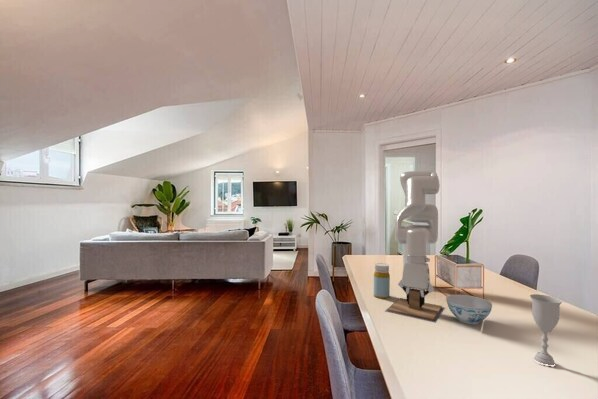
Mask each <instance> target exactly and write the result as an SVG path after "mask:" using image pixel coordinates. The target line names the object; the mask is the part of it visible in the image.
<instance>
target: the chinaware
mask: <svg viewBox="0 0 598 399" xmlns="http://www.w3.org/2000/svg"><path fill="white" fill-rule="evenodd" d="M445 299H446V300H445V301H446V303H447V307H448V309H449V311H450V313H452V315H454V316H455V318H457V319H458V321H459V322H461V323H464V324H468V325H478V324H479V323H481V322H482V321H484V320H485V319H487V317H488V316H489V315H490V313H491V311H492V308H493V303H492V302H491V301H489V300H487V299H484V298H482V297H479V296H474V295H468V294H449V295H447V296H446V298H445Z"/></svg>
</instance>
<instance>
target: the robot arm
mask: <svg viewBox="0 0 598 399" xmlns="http://www.w3.org/2000/svg"><path fill="white" fill-rule="evenodd" d="M399 181H400V186H401V188H402V190H403V193H404V197H405V198H404V203H405V204H404V207H403V208H402V209H401V210H400V211H399V213H398V214H397V216H396V218H395V219H394V220H395V221H394V239H395V242H396V243H398V244H401V245H402V246H403V247H402V249H403V251H402V252H403V258H402V259H403V261H402V263H403V265H402V274H401V275H402V276H401V277H402V279H400V281H399V282H398V283H397V285H398V287H400V288H401V289H402V290H403V291H404V293H405V295H406V298H405V299H406V301H408V304H409V290H410V289H412V288H413V289H419V290H420V293H421V296H420V307H422V306H423V305H424V303H426V302H425V301H426V300H425V297H426V296H427V295H428V294H430V293H433V292H434V291H435V287H433V285H432V284H431V279H430V278H431V276H430V266H429V262H431V258H428V257H427V244H429V245H430V244H431V245H432V244H436V243H437V242H438V240H439V210H438V207H437V206H436V205H435V204H432V203H431V204H428V203H427V204H426V195H436V194H438V193H439V191H440V179H439V176H438V173H437V172H435V171H432V170H430V171H429V170H428V171H425V170H424V171H423V170H422V171H419V170H418V171H417V170H416V171H415V170H414V171H404V172H402V173H401V174H400V176H399ZM404 220H406V221H407V222H409V223H424V224H406V225H404V226H402V222H403V221H404ZM425 224H426V225H425Z"/></svg>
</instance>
